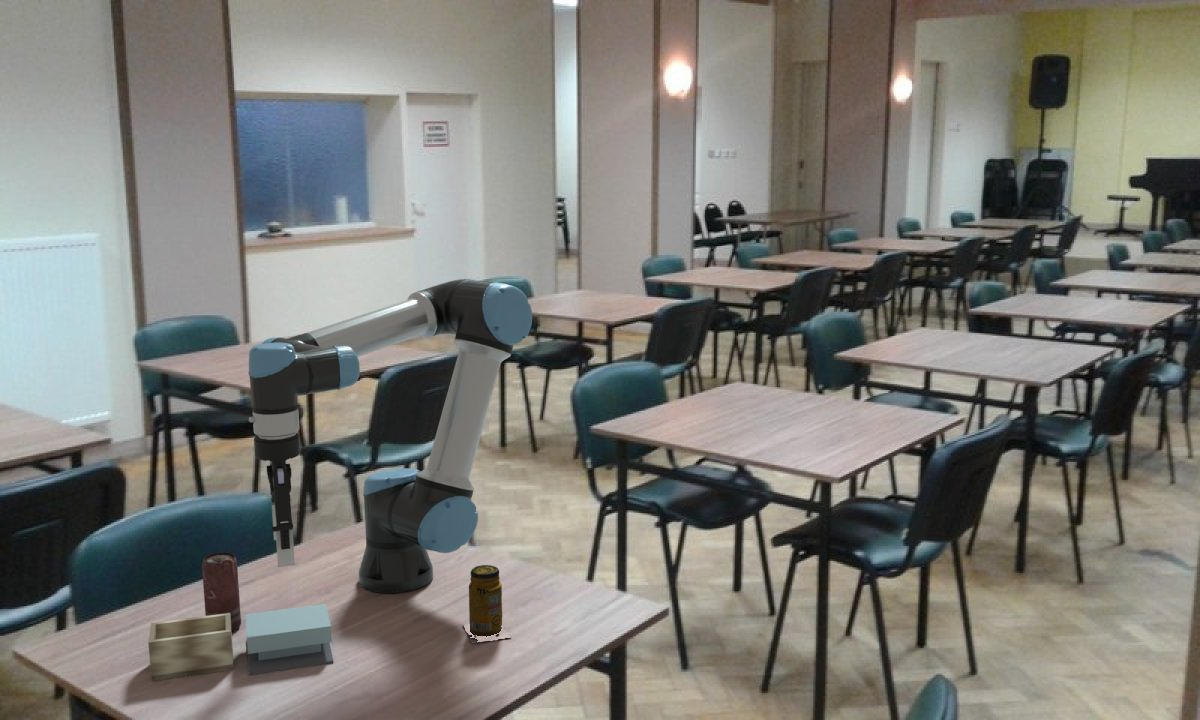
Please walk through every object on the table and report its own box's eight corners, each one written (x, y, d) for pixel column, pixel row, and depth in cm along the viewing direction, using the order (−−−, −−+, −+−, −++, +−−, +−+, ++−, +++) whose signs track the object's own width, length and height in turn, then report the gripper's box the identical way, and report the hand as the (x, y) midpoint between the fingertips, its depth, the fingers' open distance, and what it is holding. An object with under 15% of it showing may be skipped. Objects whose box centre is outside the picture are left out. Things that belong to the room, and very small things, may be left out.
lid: (327, 631, 199) (325, 603, 198) (332, 655, 190) (330, 626, 189) (247, 643, 195) (245, 614, 194) (248, 667, 186) (246, 637, 185)
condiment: (499, 620, 205) (498, 560, 203) (511, 639, 198) (510, 576, 195) (461, 626, 203) (460, 565, 201) (472, 645, 195) (470, 582, 193)
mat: (326, 629, 201) (326, 627, 201) (333, 662, 188) (333, 660, 188) (247, 640, 197) (246, 638, 197) (249, 675, 184) (248, 672, 184)
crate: (232, 649, 193) (230, 612, 192) (233, 669, 186) (230, 631, 184) (154, 660, 189) (151, 623, 188) (151, 681, 182) (148, 642, 180)
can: (231, 636, 198) (226, 564, 196) (200, 633, 200) (194, 561, 197) (248, 623, 204) (244, 552, 202) (218, 620, 205) (213, 550, 203)
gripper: (251, 418, 195) (259, 530, 199) (256, 455, 172) (264, 580, 176) (294, 415, 198) (301, 526, 202) (304, 450, 175) (311, 574, 179)
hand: (284, 551), depth 189 cm, fingers open, 13 cm apart
